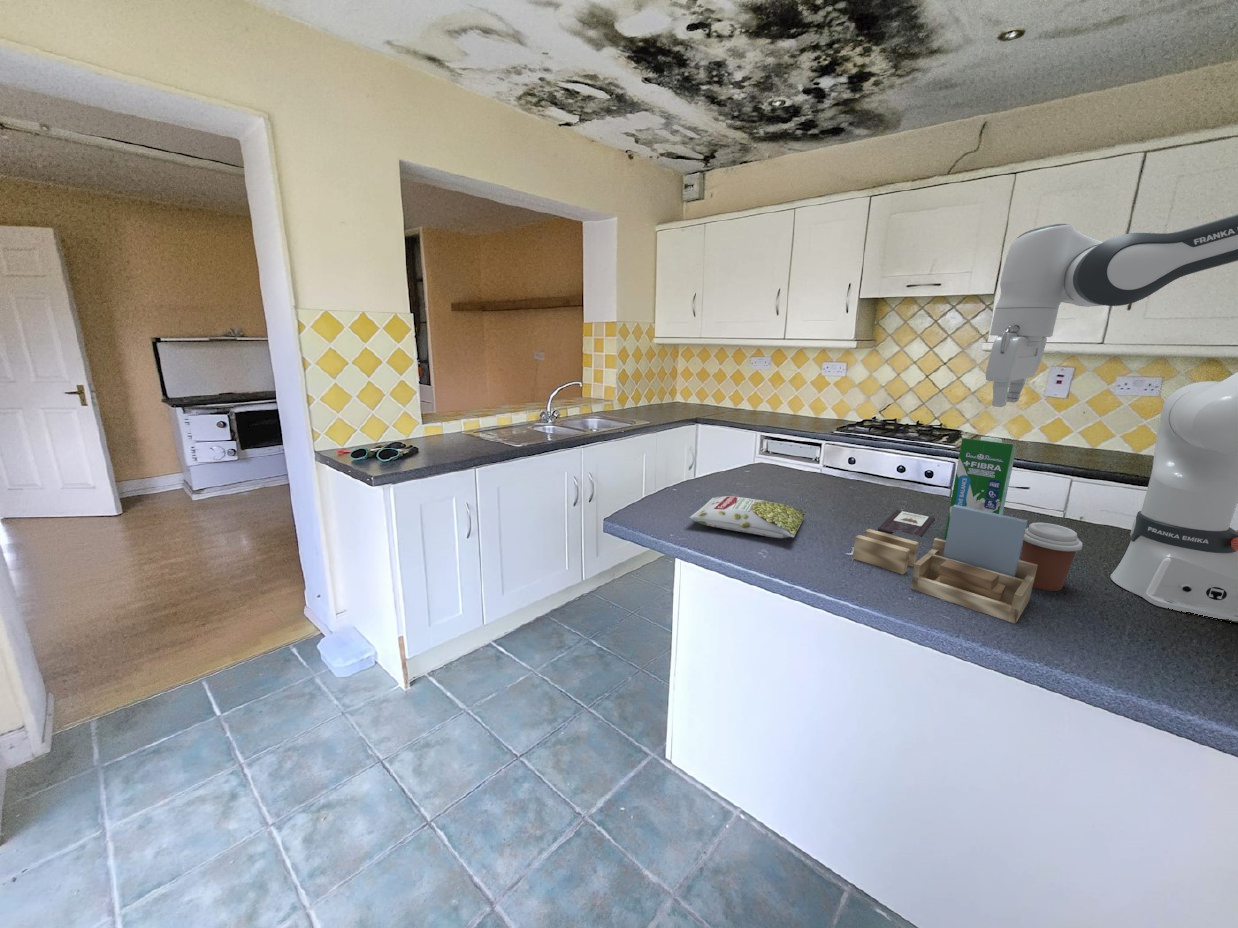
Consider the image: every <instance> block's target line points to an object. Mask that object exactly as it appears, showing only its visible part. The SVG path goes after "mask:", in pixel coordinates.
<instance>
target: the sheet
mask: <svg viewBox="0 0 1238 928" xmlns="http://www.w3.org/2000/svg"><path fill="white" fill-rule="evenodd" d="M1027 525H1028V519H1023V518H1020V517H1019V518H1018V517H1014V516H1009V515H1004V514H1003V515H1001V514H996V513H991V512H987V511H982V510H978V509H973V508H968V507H964V506H959V505H954V506H952V511H951V516H950V522H949V527H948V533H947V538H946V544H945V549H944V555H943V557H945V558H949V559H952V560H956V561H959V562H963V563H966V564H970V565H973V566H977V567H981V568H984V569H988V570H991V571H995V572H998V573H1002V574H1005V575H1009V576H1012V577H1015V575H1016V570H1017V566H1018V561H1019V560H1020V557H1021V553H1022V548H1023V539H1024V535H1025V530H1026V528H1027Z"/></svg>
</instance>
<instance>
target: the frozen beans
mask: <svg viewBox="0 0 1238 928" xmlns="http://www.w3.org/2000/svg"><path fill="white" fill-rule="evenodd" d="M806 513H807V511H803V509H802V510H801V509H798V508H795V507H793V506H792V505H788V504H785V503H778V502H773V501H767V500H763V499H757V498H750V497H741V496H740V497H739V496H734V495H733V496H731V495H726V496H724V495H722V496H721V495H720V496H716V497H712V498H711V499H710V500H708V501H707V503H705V504H704V505H703V506H702V507H700V509H698V510H697V511H695V512H694V513H693V514H692V515H691V516H689V517H688V519H691V520H692V521H694V522H695V523H698V524H700V525H704V526H709V527H713V528H716V529H722V530H728V531H734V532H740V533H746V534H753V535H758V536H764V537H768V538H774V539H787V538H795V536H796V534H797V532H798V531H799V528H800V527H801V524H802V523H803V520H804V517H805V516H806V515H807V514H806Z"/></svg>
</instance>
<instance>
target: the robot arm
mask: <svg viewBox="0 0 1238 928" xmlns="http://www.w3.org/2000/svg"><path fill="white" fill-rule="evenodd" d="M1234 262H1235V263H1236V262H1238V213H1237V214H1235V215H1230V216H1228V217H1225V218H1221V219H1218V220H1214V221H1211V222H1207V223H1203V224H1201V225H1197V226H1193V227H1189V228H1186V229H1183V230H1179V231H1174V232H1170V233H1168V232H1167V233H1166V232H1165V233H1160V232H1159V233H1155V232H1133V233H1132V232H1131V233H1124V234H1120V235H1116V236H1114V237H1111V238H1109V239H1106V240H1105V241H1103V240H1102V241H1101V240H1098V239H1095V238H1093V237H1090V236H1088V235H1086V234H1084V233H1082V232H1081V231H1078V230H1076V228H1074V227H1073V226H1072V225H1071V224H1069V223H1056V224H1049V225H1045V226H1040V227H1037V228H1033V229H1029V230H1028V231H1025V232H1024V233H1021V234H1020V235H1019V236H1018V237H1016V238H1015V239H1014V240H1013V241H1012V242H1011V244H1010V246H1009V249H1008V252H1007V255H1006V258H1005V262H1004V266H1003V268H1002V273H1001V277H1000V284H999V286H1000V297H999V298H998V301H997V303H996V305H995V308H994V313H993V317H992V318H993V319H992V322H991V327H990V331H989V332H990V334H989V336H992V337H995V336H996V338H994V340H993V343H992V346H991V349H990V354H989V357H988V362H987V365H986V370H985V380H986V381H987V382H993V384H992V396H993V397H992V401H991V402H992V403H991V406H993V407H997V408H1003V407H1005V406H1006V405H1007V403H1017V402H1019V401H1020V397H1021V393H1022V391H1023V389H1024V387H1025V384H1026V380H1027V379H1028V378H1032V377H1034V376H1035V375H1036V373H1037V371H1038V369H1039V366H1040V363H1041V362H1042V361H1041V360H1042V357H1043V355H1044V351H1045V348H1046V345H1047V339H1048V338H1051V337H1053V335H1054V334H1053V333H1054V330H1055V325H1056V321H1057V317H1058V312H1059V308H1060V305H1061V304H1062V303H1065V304H1071V305H1074V306H1079V307H1082V308H1083V307H1085V308H1086V307H1090V308H1091V307H1100V306H1101V307H1102V306H1103V307H1104V306H1107V307H1119V306H1126V305H1127V306H1128V305H1130V304H1133V303H1136V302H1139V301H1141V300H1144V299H1145V298H1148V297H1150V296H1151V295H1153V294H1155V293H1156V292H1158V291H1159V290H1160V289H1163V288H1164V287H1165V286H1167V285H1169V284H1171V282H1174V281H1175V280H1177V279H1180V278H1183V277H1185V276H1189V275H1191V274H1196V273H1197V272H1203V271H1205V270H1210V269H1212V268H1217V267H1220V266H1224V265H1227V264H1232V263H1234ZM1149 477H1150V478H1149V482H1148V486H1147V488H1146V492H1145V496H1144V499H1143V503H1142V506H1141V510H1139V511H1138V512H1137V513H1136V516H1135V517H1134V519H1133V523H1132V525H1131V526H1132V527H1131V530H1130V542H1129V545H1128V547H1127V549H1126V552H1125V554H1124V555H1123V557H1122V559H1121V561H1120V563H1119V564H1118V565H1117V567H1116V568H1115V569H1114V571H1113V572H1112V573H1111V574H1110V579H1111V580H1112V582H1114V583H1115V584H1116V585H1118V586H1119V587H1121V588H1122V589H1124V590H1126V591H1129V592H1130V593H1132V594H1134V595H1137V596H1139V597H1142V598H1143V599H1144V600H1146V601H1147V602H1148V603H1150V604H1152V605H1154V606H1157V607H1160V608H1164V609H1168V608H1169V609H1168V610H1172V609H1173V611H1178V612H1181V611H1182V613H1186V612H1191V613H1194V614H1193V615H1195V614H1198V615H1197V616H1199V615H1203V616H1202V617H1204V616H1208V617H1213V618H1218V619H1229V620H1232V621H1238V530H1237V529H1236V530H1235V529H1233V528H1232V527H1230V526H1231V523H1232V520H1233V517H1234V515H1235V511H1236V508H1237V504H1238V371H1237V372H1235V373H1233V374H1232V375H1231V376H1229V377H1227V378H1225V379H1223V380H1221V381H1218V380H1217V381H1215V380H1212V381H1211V380H1208V381H1207V380H1206V381H1205V380H1204V381H1199V382H1193V383H1190V384H1187V385H1185V386H1182V387H1180V388H1177V390H1175V391H1173V392H1172V393H1171V394H1170V395H1169V396H1168V397H1167V398H1166V399H1165V401H1164V402H1163V405H1162V408H1161V413H1160V417H1159V423H1158V428H1157V433H1156V441H1155V447H1154V452H1153V462H1152V469H1151V473H1150V476H1149ZM1208 617H1207V618H1208ZM1213 618H1212V619H1213Z"/></svg>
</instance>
